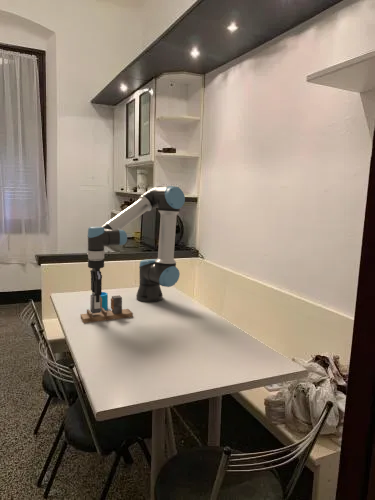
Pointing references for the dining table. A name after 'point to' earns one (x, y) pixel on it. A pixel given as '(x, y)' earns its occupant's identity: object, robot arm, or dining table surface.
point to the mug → (104, 300)
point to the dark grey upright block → (93, 305)
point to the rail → (108, 312)
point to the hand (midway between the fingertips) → (96, 306)
